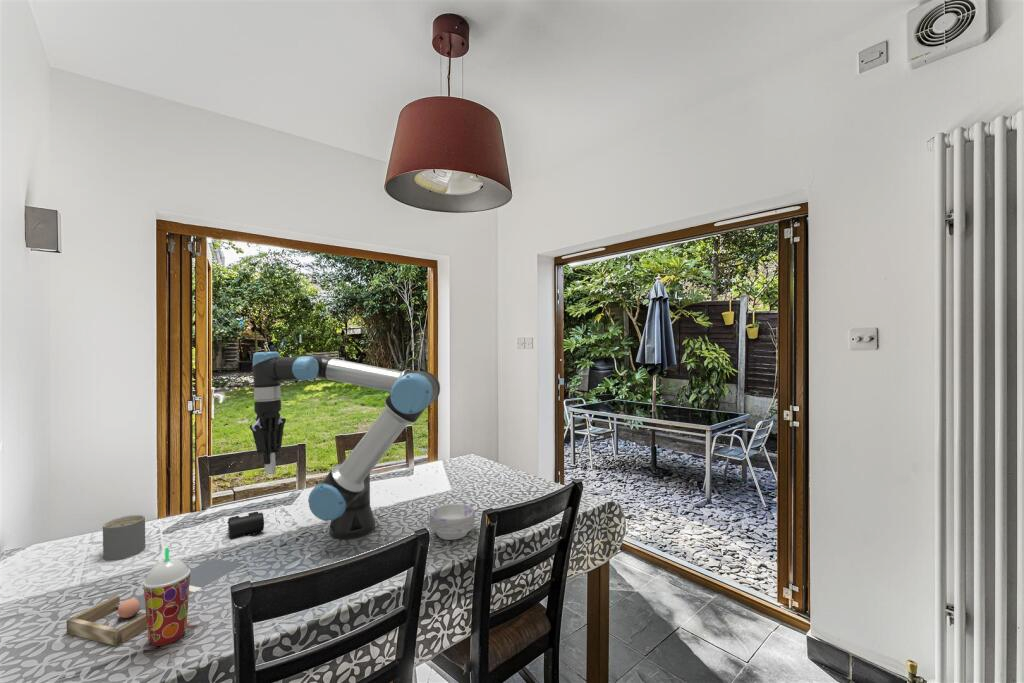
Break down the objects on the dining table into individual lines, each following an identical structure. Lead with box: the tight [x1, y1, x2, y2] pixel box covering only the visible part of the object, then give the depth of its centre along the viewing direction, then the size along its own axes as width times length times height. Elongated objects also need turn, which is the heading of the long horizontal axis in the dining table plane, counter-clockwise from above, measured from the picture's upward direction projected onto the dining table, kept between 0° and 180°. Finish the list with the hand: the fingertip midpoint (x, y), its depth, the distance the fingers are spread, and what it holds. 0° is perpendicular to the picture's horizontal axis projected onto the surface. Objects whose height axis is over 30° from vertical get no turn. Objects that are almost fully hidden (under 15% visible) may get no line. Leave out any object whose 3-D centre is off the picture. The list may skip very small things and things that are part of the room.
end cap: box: [227, 511, 265, 539], centre depth 150 cm, size 10×7×7 cm
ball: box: [117, 598, 140, 619], centre depth 106 cm, size 4×4×4 cm
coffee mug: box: [102, 514, 146, 561], centre depth 140 cm, size 13×10×10 cm
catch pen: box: [66, 595, 148, 647], centre depth 103 cm, size 16×10×3 cm, turn 74°
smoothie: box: [142, 547, 191, 647], centre depth 98 cm, size 8×8×20 cm
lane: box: [134, 557, 245, 615], centre depth 119 cm, size 12×24×1 cm, turn 164°
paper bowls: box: [429, 503, 476, 541], centre depth 149 cm, size 15×15×8 cm
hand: (270, 473), depth 141 cm, fingers closed
